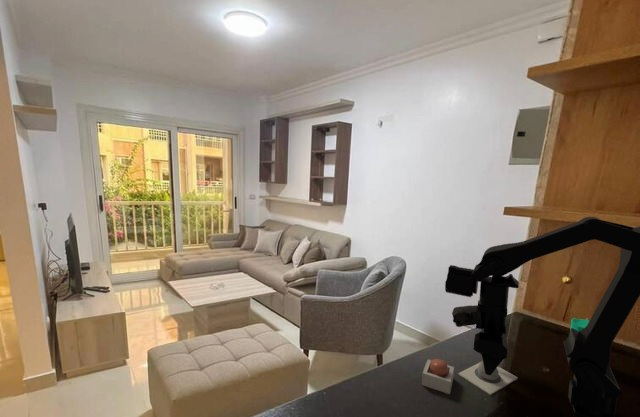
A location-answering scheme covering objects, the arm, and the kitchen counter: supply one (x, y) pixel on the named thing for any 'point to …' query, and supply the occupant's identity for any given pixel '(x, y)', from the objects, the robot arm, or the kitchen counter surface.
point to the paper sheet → (484, 384)
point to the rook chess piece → (485, 376)
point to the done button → (438, 368)
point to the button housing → (438, 379)
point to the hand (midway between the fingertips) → (488, 363)
